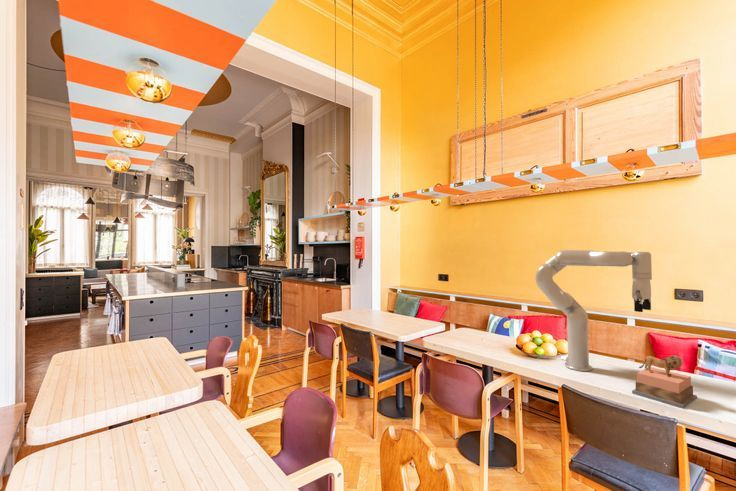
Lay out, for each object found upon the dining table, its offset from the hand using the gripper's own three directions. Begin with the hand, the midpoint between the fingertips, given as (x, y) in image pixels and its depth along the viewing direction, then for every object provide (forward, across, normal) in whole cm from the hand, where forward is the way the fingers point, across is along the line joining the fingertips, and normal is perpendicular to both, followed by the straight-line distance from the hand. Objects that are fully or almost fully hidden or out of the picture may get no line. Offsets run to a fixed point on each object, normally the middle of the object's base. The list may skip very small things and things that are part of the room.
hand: (642, 310), depth 165 cm
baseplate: (+33, +18, +13) cm, 40 cm away
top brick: (+28, +18, +13) cm, 36 cm away
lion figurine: (+24, +17, +12) cm, 32 cm away
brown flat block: (+32, +18, +13) cm, 39 cm away
